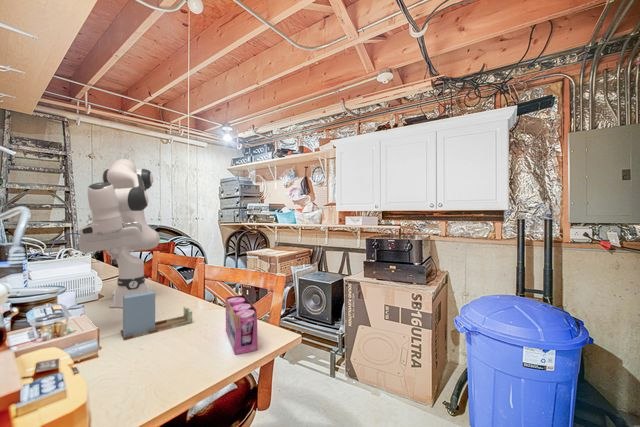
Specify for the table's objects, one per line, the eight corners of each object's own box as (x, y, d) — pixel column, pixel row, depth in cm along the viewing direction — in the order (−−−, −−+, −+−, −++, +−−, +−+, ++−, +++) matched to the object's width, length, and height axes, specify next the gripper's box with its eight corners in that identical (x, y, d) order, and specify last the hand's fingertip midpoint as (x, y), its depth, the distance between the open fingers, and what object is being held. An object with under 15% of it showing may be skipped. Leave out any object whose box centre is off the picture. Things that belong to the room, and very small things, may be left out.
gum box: (259, 352, 94) (259, 312, 94) (235, 357, 90) (235, 316, 90) (244, 326, 115) (244, 294, 115) (225, 330, 112) (225, 297, 112)
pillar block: (122, 333, 107) (123, 295, 107) (152, 326, 113) (152, 290, 113) (124, 338, 103) (124, 298, 103) (155, 330, 110) (155, 293, 110)
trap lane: (120, 334, 108) (120, 320, 108) (185, 318, 124) (185, 306, 124) (123, 342, 101) (123, 326, 101) (192, 324, 117) (192, 311, 117)
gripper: (141, 219, 113) (147, 251, 116) (78, 227, 104) (87, 261, 107) (139, 222, 107) (145, 255, 110) (72, 231, 99) (81, 266, 102)
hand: (116, 258), depth 109 cm, fingers closed
